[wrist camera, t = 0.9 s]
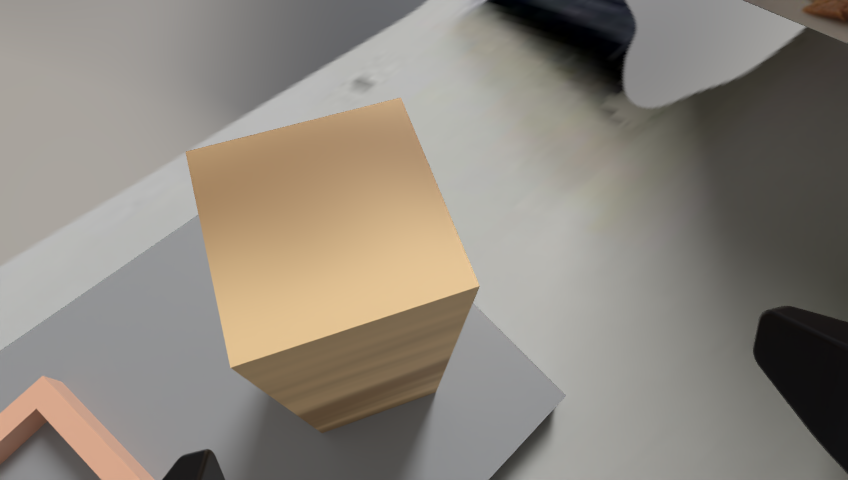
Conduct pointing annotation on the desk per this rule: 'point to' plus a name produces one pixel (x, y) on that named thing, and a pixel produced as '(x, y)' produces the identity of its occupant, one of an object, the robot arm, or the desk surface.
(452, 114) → the desk surface
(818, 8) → the cake mix box
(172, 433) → the baseplate
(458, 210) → the desk surface
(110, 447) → the socket collar
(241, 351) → the oak pillar
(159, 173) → the desk surface
